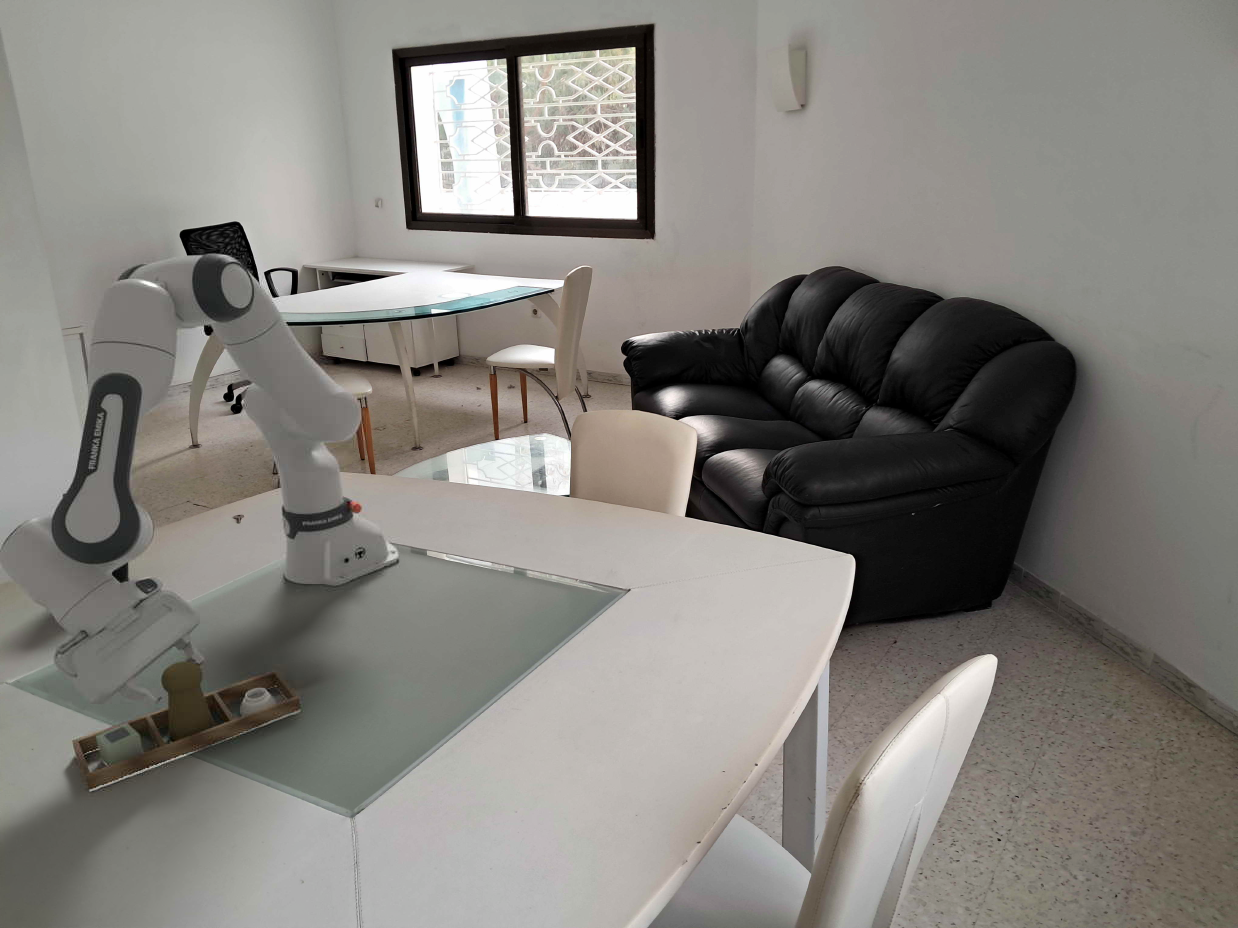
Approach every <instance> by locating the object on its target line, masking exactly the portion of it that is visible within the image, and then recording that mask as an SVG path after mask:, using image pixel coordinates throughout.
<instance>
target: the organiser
mask: <svg viewBox="0 0 1238 928" xmlns="http://www.w3.org/2000/svg"><path fill="white" fill-rule="evenodd" d="M275 685H276V686H277V687H276V688H278V689H279V690H280V691H281V692H282V694H283V695H284V696H285V697H286V698H287V700H286V699H285V700H283V701H280V702H278V703H277V702H276V704H274V705H272V706H269V707H266V708H264V709H261V710H258V711H256V712H253V713H250V714H247V715H245V716H239V717H236V718H235V717H234V716H233V714H232V713H231V712H230V710H229V708H228V707H227V706H226V705H228V704H230V702H231V703H233V701H234V702H236V700H237V701H239V700H241V699H240V698H242V699H244V697H245V694H246V693H247V692H248V691H250V690H252V689H254V688H264V689H267V690H269V689H268V688H270V689H272V688H271V687H273V688H275V687H274V686H275ZM278 689H277V690H278ZM279 690H278V691H279ZM280 691H279V692H280ZM281 692H280V693H281ZM282 694H281V695H282ZM283 695H282V696H283ZM284 696H283V697H284ZM204 697H205V700H206V703H207V706H208V708H209V711H211V710H214V709H215V711H216V710H217V711H216V712H217V714H218V713H219V714H218V715H219V717H220V716H221V717H220V718H221V720H222V719H223V720H222V721H223V723H221V724H218V725H215V727H212V728H210V729H207V730H204V731H202V732H199V733H196V734H193V735H191V736H188V737H185V738H183V739H180V740H177V741H175V742H172V743H171V742H170V743H167V744H166V743H165V742H166V741H164V739H163V737H162V735H161V733H160V731H159V729H161V728H164V727H166V726H169V710H168V707H165V708H161V709H160V710H157V711H154V712H150V713H148V714H144V715H142V716H139V717H136V718H133V719H130V720H128V721H124V722H121V723H118V724H116V725H114V726H113V725H112V726H111V727H108V728H104V729H101V730H99V731H96V732H92V733H90V734H87V735H83V736H81V737H78V738H76V739H73V740H72V746H73V750H74V753H75V754H74V755H75V757H77V758H76V760H77V763H78V762H79V763H78V765H80V766H79V768H80V771H81V770H82V771H81V773H83V774H82V776H83V779H84V778H85V779H84V781H86V782H85V784H86V783H87V784H86V787H87V786H88V787H87V789H89V790H90V789H93V788H96V787H98V786H100V785H104V784H107V783H109V782H112V781H115V780H118V779H119V778H123V777H124V776H127V775H131V774H133V773H135V772H138V771H141V770H143V769H145V768H149V767H150V766H153V765H157V764H159V763H162V762H165V761H167V760H170V759H172V758H176V757H178V756H180V755H184V754H187V753H189V752H193V751H196V750H199V749H202V748H205V747H207V746H210V745H212V744H215V743H217V742H219V741H222V740H225V739H227V738H230V737H233V736H235V735H238V734H240V733H243V732H244V731H248V730H251V729H252V728H255V727H258V726H260V725H262V724H264V723H267V722H269V721H271V720H274V719H277V718H280V717H282V716H284V715H287V714H290V713H293V712H295V711H298V710H299V709H301V710H302V708H301V701H300V699H301V698H300V696H299V695H298V694H297V693H296V692H295V691H294V689H293V688H292V687H291V685H290V684H289V683H288V682H287V681H286V679H285V678H284V677H283V676H282V675H281V673H280V672H279V671H278V670H277V669H274V670H271V671H268V672H266V673H262V674H260V675H256V676H255V677H251V678H249V679H245V680H243V681H240V682H236V683H234V684H231V685H229V686H225V687H222V688H219V689H217V690H214V691H211V692H208V693H205V694H204ZM285 697H284V698H285ZM238 699H239V700H238ZM227 703H228V704H227ZM210 709H211V710H210ZM224 722H225V723H224ZM125 723H128V724H129V725H130V726H131V727H132V728H133V729H134V730H135V731H136V732H137V733H138V734H139V736H141V735H144V734H148V733H149V735H150V737H151V739H152V740H153V743H154V745H155V744H156V745H155V747H156V746H157V747H156V748H153V749H151V750H148V751H146V752H143V753H142V754H139V755H137V756H134V757H131V758H129V759H126V760H123V761H121V762H118V763H115V764H113V765H110V766H103V768H99V769H97V770H94V771H92V772H91V771H90V769H89V766H88V763H87V761H86V758H85V755H83V754H85V753H87V752H89V751H93V750H96V749H98V744H97V739H96V736H98V735H100V734H102V733H104V732H107V731H109V730H111V729H113V728H116V727H118V726H120V725H123V724H125ZM89 790H88V791H89Z"/></svg>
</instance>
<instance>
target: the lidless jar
mask: <svg viewBox="0 0 1238 928" xmlns="http://www.w3.org/2000/svg"><path fill="white" fill-rule="evenodd" d="M274 704H277V702H276V699H275V697H273V695H272V694H271V693H270V692H268V689H267V690H266V689H264V688H254V689H252V690H250V691H248V692H247V693H246V694H245V698H243V700H242V702H241V704H240V707H239V712H240V715H242V716H245V715H247V714H250V713H253V712H256V711H258V710H261V709H264V708H266V707H269V706H272V705H274ZM242 716H241V717H242Z"/></svg>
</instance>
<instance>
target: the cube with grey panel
mask: <svg viewBox="0 0 1238 928" xmlns="http://www.w3.org/2000/svg"><path fill="white" fill-rule="evenodd" d="M96 739H97V744H98V748H99V750H98V751H99V756H100V757H99V758H100V760H101V759H102V760H103V761H104V762H105V763H106V764H107V765H108V766H110V765H113V764H115V763H118V762H121V761H123V760H126V759H129V758H131V757H134V756H137V755H139V754H142V753H144V750H143V747H142V746H143V745H142V741H141V735H139V734H138V733H137V732H136V731H135V730H134V729H133V728H132V727H131V726H130V725H129V724H128V723H125V724H123V725H120V726H118V727H116V728H113V729H111V730H109V731H107V732H104V733H102V734H100V735H98V736H96ZM102 760H101V761H102Z"/></svg>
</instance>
